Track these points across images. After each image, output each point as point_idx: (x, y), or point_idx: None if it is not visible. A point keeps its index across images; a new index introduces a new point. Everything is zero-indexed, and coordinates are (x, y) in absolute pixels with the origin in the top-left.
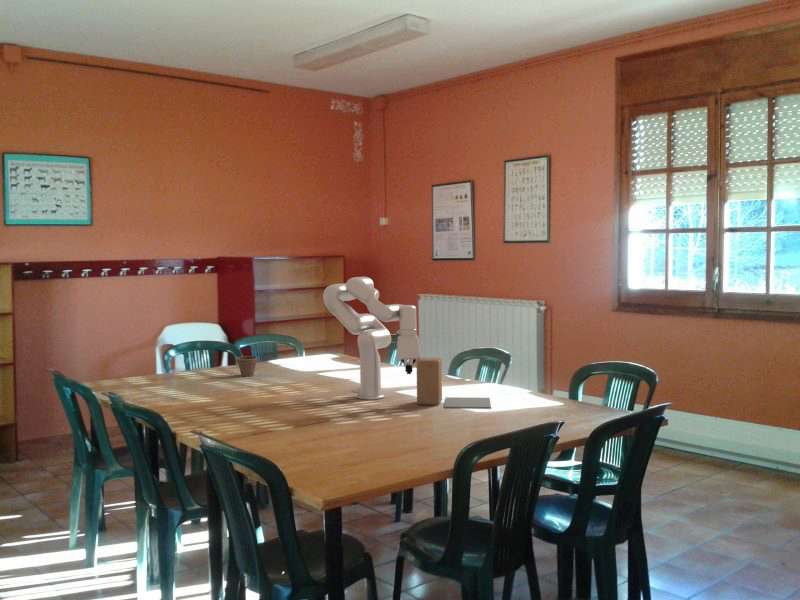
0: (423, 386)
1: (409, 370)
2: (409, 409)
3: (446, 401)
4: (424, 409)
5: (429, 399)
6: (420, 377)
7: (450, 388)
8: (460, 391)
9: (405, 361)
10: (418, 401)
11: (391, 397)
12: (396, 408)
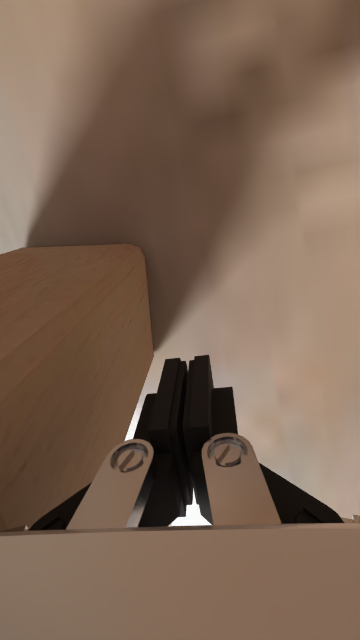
0: (52, 268)
1: (172, 381)
2: (156, 90)
3: None
4: (61, 116)
5: (54, 250)
6: (37, 290)
7: None
8: None
9: (238, 494)
10: (129, 246)
11: (327, 410)
12: (252, 103)
